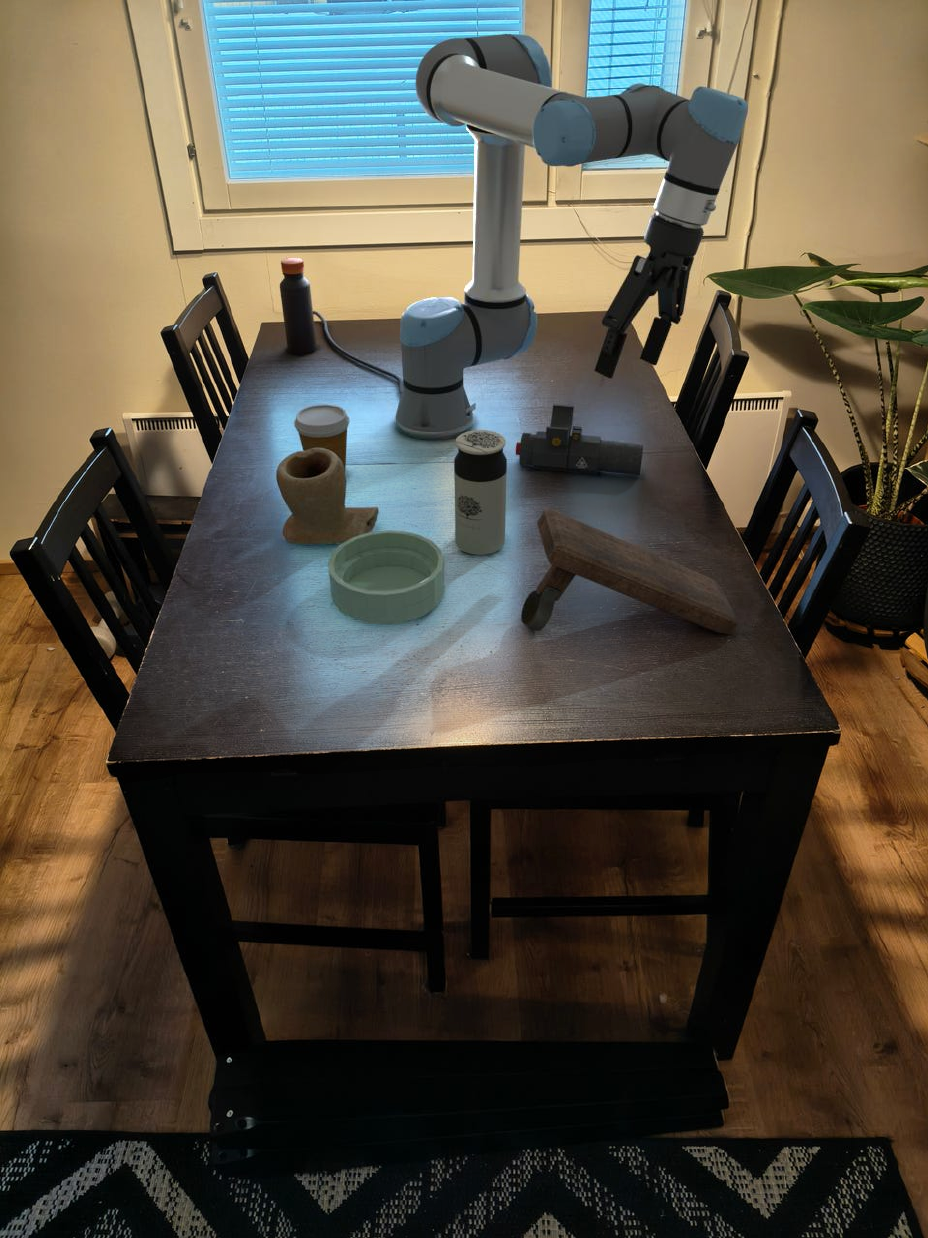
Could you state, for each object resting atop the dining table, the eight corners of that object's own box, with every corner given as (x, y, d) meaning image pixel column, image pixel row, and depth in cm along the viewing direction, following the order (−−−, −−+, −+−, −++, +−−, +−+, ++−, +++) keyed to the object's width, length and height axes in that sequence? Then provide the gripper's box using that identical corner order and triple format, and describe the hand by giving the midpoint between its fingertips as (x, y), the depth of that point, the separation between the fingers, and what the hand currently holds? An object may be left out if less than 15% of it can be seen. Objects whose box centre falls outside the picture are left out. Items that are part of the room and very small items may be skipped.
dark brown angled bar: (659, 654, 142) (490, 588, 131) (720, 579, 134) (545, 503, 124) (677, 699, 133) (498, 632, 123) (742, 622, 126) (558, 544, 115)
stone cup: (276, 557, 144) (263, 472, 135) (290, 517, 153) (278, 436, 144) (372, 558, 143) (365, 473, 134) (380, 518, 153) (374, 436, 144)
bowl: (314, 583, 138) (310, 550, 134) (411, 552, 145) (409, 519, 141) (361, 642, 127) (358, 607, 123) (465, 605, 133) (464, 571, 130)
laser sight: (638, 487, 160) (644, 435, 154) (511, 476, 164) (513, 425, 158) (641, 462, 168) (647, 411, 162) (520, 451, 172) (521, 401, 166)
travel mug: (479, 524, 151) (480, 423, 140) (515, 542, 147) (518, 440, 136) (445, 542, 147) (442, 440, 136) (480, 562, 142) (480, 458, 131)
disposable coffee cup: (364, 470, 166) (359, 408, 159) (336, 494, 159) (330, 430, 152) (319, 460, 170) (312, 399, 162) (290, 483, 163) (282, 420, 155)
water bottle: (314, 354, 211) (305, 265, 199) (285, 354, 211) (273, 265, 199) (318, 343, 216) (309, 256, 204) (290, 343, 216) (279, 256, 204)
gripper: (659, 232, 113) (604, 391, 125) (740, 226, 131) (685, 366, 143) (610, 211, 116) (561, 369, 128) (695, 209, 134) (645, 347, 146)
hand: (626, 367), depth 136 cm, fingers open, 13 cm apart
